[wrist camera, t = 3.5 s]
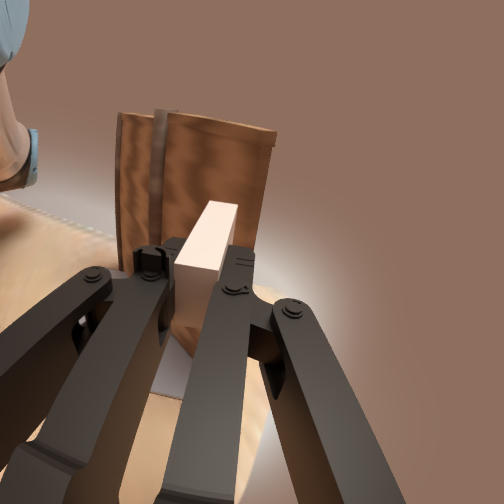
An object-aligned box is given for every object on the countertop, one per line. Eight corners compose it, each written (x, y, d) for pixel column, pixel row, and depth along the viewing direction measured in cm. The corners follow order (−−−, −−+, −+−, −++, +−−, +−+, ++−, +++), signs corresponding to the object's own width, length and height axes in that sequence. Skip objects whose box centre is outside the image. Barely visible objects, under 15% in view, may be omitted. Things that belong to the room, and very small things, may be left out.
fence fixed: (172, 319, 37) (183, 110, 25) (156, 325, 36) (160, 110, 23) (129, 263, 47) (131, 105, 34) (116, 267, 45) (115, 105, 33)
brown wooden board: (161, 322, 35) (167, 112, 24) (170, 318, 36) (180, 112, 24) (220, 391, 28) (261, 130, 16) (230, 385, 29) (277, 131, 17)
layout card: (39, 353, 26) (37, 351, 26) (103, 269, 44) (102, 266, 44) (194, 402, 27) (194, 400, 27) (219, 291, 44) (219, 289, 44)
